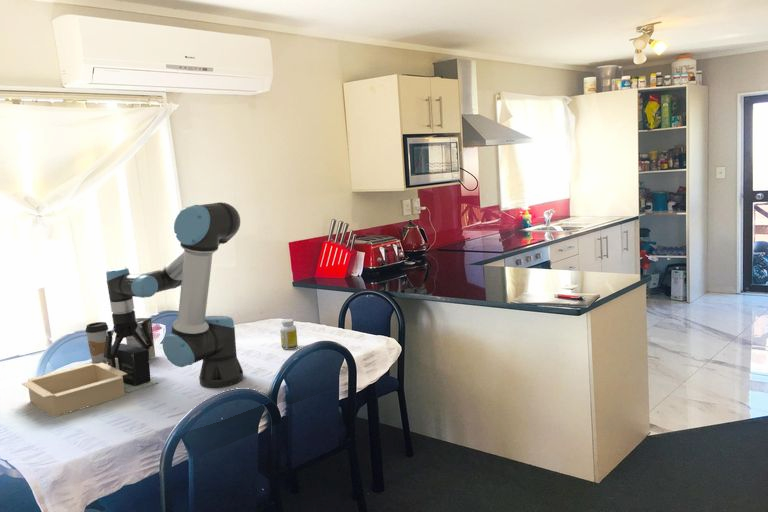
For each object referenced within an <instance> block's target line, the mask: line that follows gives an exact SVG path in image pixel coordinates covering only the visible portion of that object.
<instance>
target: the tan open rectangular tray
mask: <svg viewBox="0 0 768 512" xmlns="http://www.w3.org/2000/svg"><path fill="white" fill-rule="evenodd" d="M123 375H127V373H125V372H123V371H120V370H118V369H116V368H114V367H111V366H109V365H108V363H107V364H106V362H103V363H93V362H89V363H87V364H83V365H77V366H74V367H70V368H67V369H62V370H60V371H59V370H58V371H55V372H52V373H48V374H44V375H40V376H36V377H32V378H29V379H28V380H27V381H26V382H22V383H21V385H22V386H24V387H25V388H27V389H28V395H29V400H30V401H29V402H30V403H32V404H34V405H35V406H36V407H38V408H40V409H41V410H43V411H44V412H46V413H47V414H49V415H51V417H54V418H55V417H59V416H62V415H61V414H63V415H65V414H64V413H66V414H68V413H67V412H69V413H71V412H70V411H72V412H75V411H74V410H76V411H79V410H81V409H80V408H82V409H85V408H84V407H86V408H88V407H87V406H89V407H91V405H92V406H94V405H98V403H99V404H102V403H104V401H105V402H107V400H108V401H112V400H115V399H119V398H121V397H124V396H126V394H125V392H126V391H125V390H124V384H123ZM111 399H112V400H111ZM78 409H79V410H78Z"/></svg>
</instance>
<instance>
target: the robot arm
mask: <svg viewBox="0 0 768 512" xmlns="http://www.w3.org/2000/svg"><path fill="white" fill-rule="evenodd" d="M173 222H174V224H173V231H174V232H173V233H174V234H176V235H175V238H176V239H177V240H178V241H179V243H180V245H179V246H180V248H182V249H181V250H180V251H179V252H178V253H177V254H176V255H175V256H174V257H173V258H172V259H171V260H170V261H169V262H168V263H167V264H166V265H165V266H164V267H162V269H158V270H154V271H149V272H145V273H140V274H131V273H130V270H129V268H127V267H126V266H125V267H124V266H123V267H114V268H111V269H108V270H106V272H105V274H106V285H107V290H108V298H109V305H110V309H111V310H110V311H111V313H112V314H111V316H112V317H111V318H112V322H113V323H112V324H113V327H112V329H108V330H106V331H105V334H106V342H105V349H104V358H106V359H110V363H111V367H114V368H116V369H118V370H119V364H118V358H115V357H116V354H117V352H118V349H119V346H120V344H122V341H123V340H124V339H126V337H128V336H133V337H134V338H135V339H136V341H137V342H138V343H139V344H140V345H141V346H142V348H144V349H148V350H149V349H150V347H151V346H153V343H152V341H151V339H150V336H149V334H148V332H147V330H146V326H145V322H142V321H140V322H138V323H137V322H136V319H137V318H136V311H135V310H134V309H135V305H134V304H135V303H134V298H135V297H137V298H151V297H153V296H154V295H155V294H157V293H159V292H163V291H167V290H171V289H172V290H173V289H176V288H178V287H180V293H179V294H180V295H179V305H178V314H177V319H174V321H173V322H172V324H171V326H172V327H171V333H168V334H167V335H166V336H164V338H163V341H162V350H163V353H164V356H165V357H166V359H167V360H168V362H170V363H171V364H172V365H173V366H175V367H178V368H184V367H187V366H192V365H194V364H195V363H197V362H200V361H202V364H201V368H200V373H199V376H198V377H199V378H198V380H199V384H200V385H201V387H206V388H223V387H229V386H232V385H236V384H238V383H240V382H242V381H243V379H244V371H243V368H242V366H241V364H240V361H239V359H238V356H237V343H236V342H237V341H236V327H235V322H234V319H233V318H232V317H231V316H227V315H207V314H206V313H207V306H208V297H209V289H210V288H209V287H210V279H211V278H210V277H211V272H212V271H211V270H212V262H213V261H212V260H213V254H214V253H215V252H216V251H218V249H219V246H221V245H224V244H226V243H228V242H229V241H230V240H231V239H232V238H233V237H234V236H236V234H237V233H238V231H239V230H240V226H241V217H240V214H239V211H238V210H237V209H236V208H235V207H234V206H233V205H231V204H229V203H226V202H221V201H220V202H214V203H205V204H193V205H190V206H187V207H184V208H182V209H181V210H180V211H179V212H178V213H177V214H176V217H175V219H174V221H173ZM137 326H138V327H139V328H140V330H141V333H142V335H143V337H144V339H145V341H146V343H145V342H144V341H143V340H142V339H141V337H140V336H139V335H138V333H137V332H136V331H135V330H136V328H137ZM114 334H116V335H115V336H114ZM113 336H114V339H115V340H114V341H113ZM112 343H113V344H112ZM111 346H113V347H112V349H111Z"/></svg>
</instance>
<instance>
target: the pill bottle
mask: <svg viewBox="0 0 768 512" xmlns="http://www.w3.org/2000/svg"><path fill="white" fill-rule="evenodd" d="M294 324H295V323H294V319H293V318H285V319H282V320H281V325H282V326H281V327H280V328H279V329H280V343H281V349H282V348H283V349H282V350H285V349H291V350H294V348H295V349H297V348H298V346H299V345H298V333H297V327H296V325H294ZM296 347H297V348H296Z"/></svg>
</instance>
